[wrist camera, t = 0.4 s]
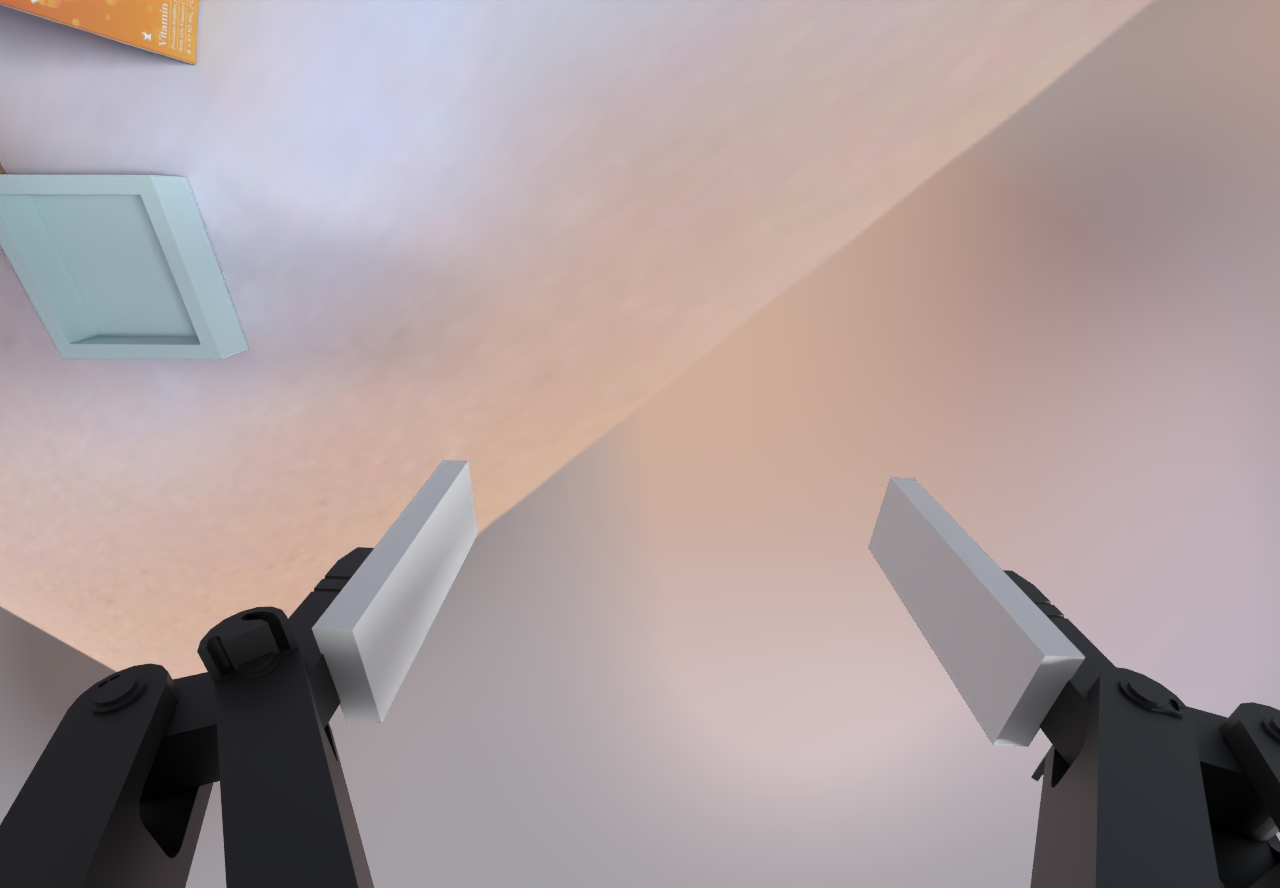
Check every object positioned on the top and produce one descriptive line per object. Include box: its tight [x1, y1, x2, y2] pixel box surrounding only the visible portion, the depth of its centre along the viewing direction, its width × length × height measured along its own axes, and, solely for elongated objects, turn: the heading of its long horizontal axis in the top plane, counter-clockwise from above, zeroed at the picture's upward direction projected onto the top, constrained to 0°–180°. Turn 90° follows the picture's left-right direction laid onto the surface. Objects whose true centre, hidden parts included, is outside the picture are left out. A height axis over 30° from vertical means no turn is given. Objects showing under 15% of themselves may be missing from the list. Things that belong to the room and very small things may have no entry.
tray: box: [0, 174, 249, 360], centre depth 38 cm, size 13×13×3 cm
